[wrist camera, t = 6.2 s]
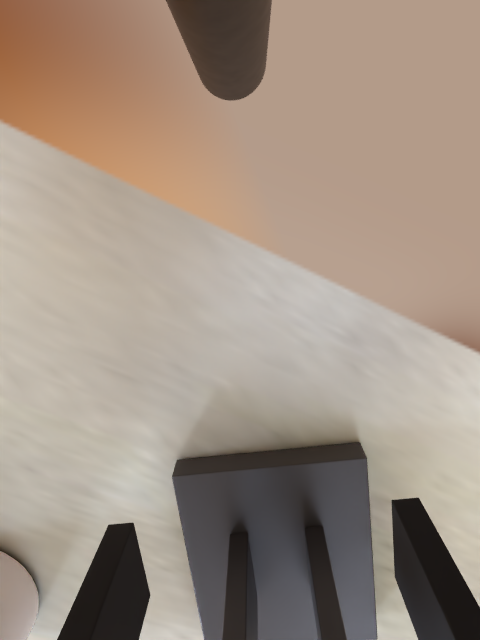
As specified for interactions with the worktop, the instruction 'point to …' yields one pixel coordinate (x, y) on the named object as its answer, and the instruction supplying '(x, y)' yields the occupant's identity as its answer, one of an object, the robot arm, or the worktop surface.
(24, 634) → the milk bottle
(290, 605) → the switch base
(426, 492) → the worktop surface
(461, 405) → the worktop surface
